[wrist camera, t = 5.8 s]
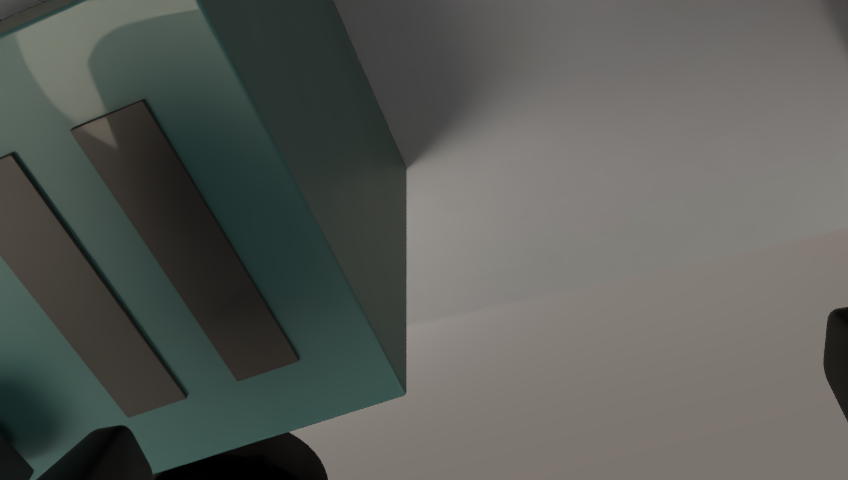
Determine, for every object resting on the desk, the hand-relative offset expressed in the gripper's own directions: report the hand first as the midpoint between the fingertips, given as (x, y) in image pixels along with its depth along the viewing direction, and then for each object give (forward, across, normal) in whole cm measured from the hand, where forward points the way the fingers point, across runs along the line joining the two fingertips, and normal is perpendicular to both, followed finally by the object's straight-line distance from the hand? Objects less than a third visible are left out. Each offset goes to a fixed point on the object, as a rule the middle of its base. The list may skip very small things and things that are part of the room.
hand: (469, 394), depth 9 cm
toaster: (+13, +7, 0) cm, 15 cm away
